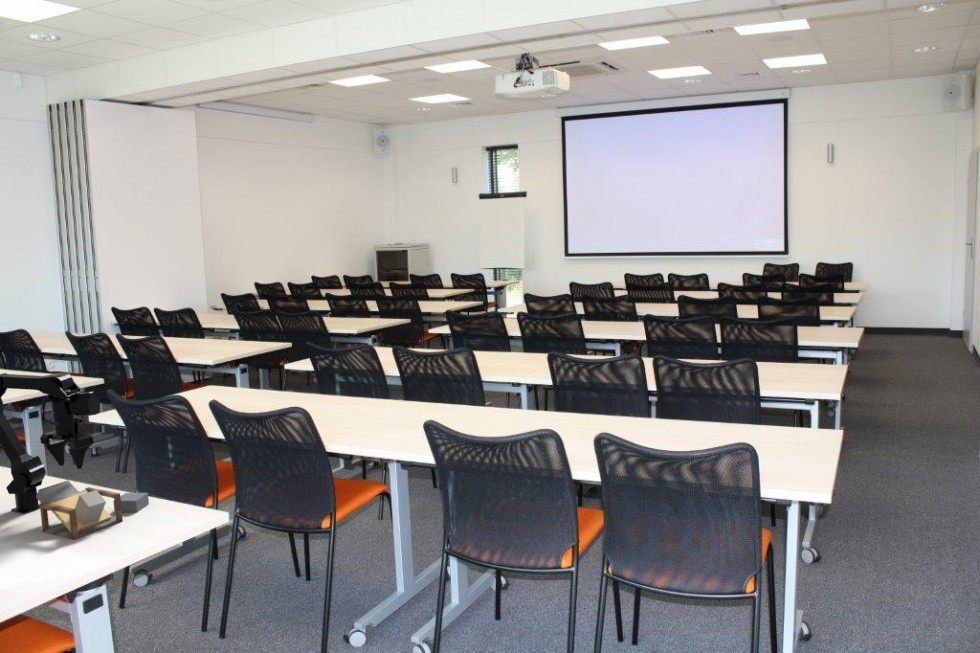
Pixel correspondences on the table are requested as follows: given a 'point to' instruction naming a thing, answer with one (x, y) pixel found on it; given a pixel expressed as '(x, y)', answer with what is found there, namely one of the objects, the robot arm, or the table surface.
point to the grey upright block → (89, 507)
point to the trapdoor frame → (74, 533)
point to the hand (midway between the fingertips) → (71, 467)
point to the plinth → (133, 502)
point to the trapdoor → (66, 502)
